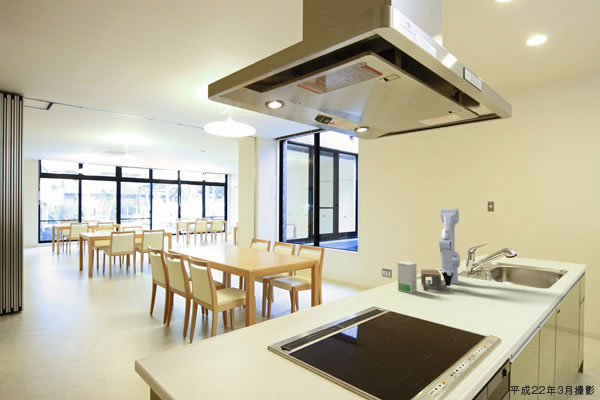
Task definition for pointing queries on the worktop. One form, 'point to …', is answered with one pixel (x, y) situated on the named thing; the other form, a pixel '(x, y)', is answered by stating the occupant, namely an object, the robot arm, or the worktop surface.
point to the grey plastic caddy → (435, 284)
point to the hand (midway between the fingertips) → (447, 285)
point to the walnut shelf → (430, 274)
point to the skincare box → (407, 277)
